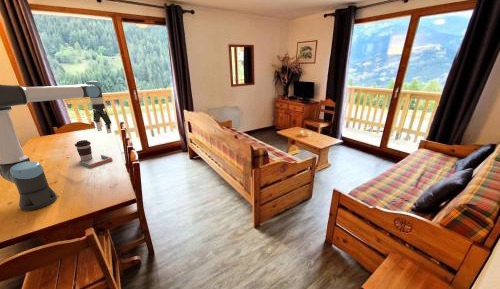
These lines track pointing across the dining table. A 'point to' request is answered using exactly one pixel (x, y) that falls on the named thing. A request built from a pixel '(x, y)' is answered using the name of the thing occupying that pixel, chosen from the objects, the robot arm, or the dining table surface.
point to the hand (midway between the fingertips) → (104, 132)
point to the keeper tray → (107, 159)
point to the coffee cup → (84, 149)
